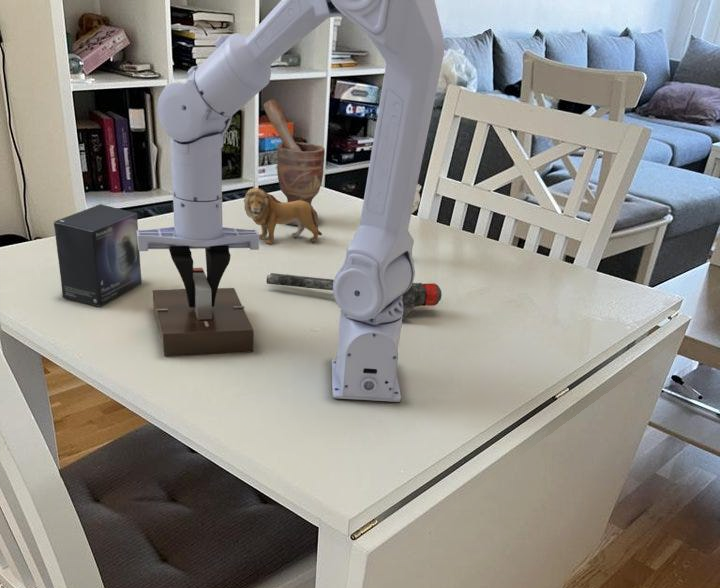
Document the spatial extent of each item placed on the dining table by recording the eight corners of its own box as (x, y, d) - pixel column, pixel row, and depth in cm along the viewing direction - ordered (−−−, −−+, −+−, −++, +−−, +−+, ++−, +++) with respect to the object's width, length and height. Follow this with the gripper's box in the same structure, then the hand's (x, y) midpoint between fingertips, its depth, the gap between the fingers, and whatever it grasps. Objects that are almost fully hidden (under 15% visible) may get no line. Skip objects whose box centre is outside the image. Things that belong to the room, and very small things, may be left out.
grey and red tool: (443, 303, 119) (435, 326, 106) (285, 285, 123) (258, 306, 109) (448, 262, 116) (441, 281, 103) (286, 245, 120) (258, 261, 106)
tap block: (254, 351, 95) (254, 328, 94) (163, 356, 92) (161, 332, 90) (234, 308, 106) (234, 286, 104) (152, 310, 103) (151, 288, 101)
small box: (102, 308, 102) (93, 230, 96) (60, 298, 103) (49, 221, 97) (144, 284, 110) (139, 211, 104) (106, 275, 112) (98, 202, 106)
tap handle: (212, 319, 95) (211, 287, 92) (197, 320, 94) (196, 287, 92) (204, 298, 100) (203, 267, 98) (190, 298, 100) (189, 267, 97)
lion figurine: (250, 248, 127) (250, 193, 122) (238, 238, 131) (238, 184, 126) (328, 242, 133) (331, 189, 128) (315, 232, 137) (318, 181, 132)
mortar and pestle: (255, 222, 139) (256, 103, 127) (263, 209, 146) (265, 95, 134) (317, 229, 139) (324, 110, 127) (323, 216, 146) (329, 102, 134)
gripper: (251, 186, 94) (250, 290, 102) (131, 185, 90) (140, 293, 98) (263, 203, 89) (261, 311, 97) (136, 202, 85) (144, 315, 92)
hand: (201, 304), depth 97 cm, fingers closed on tap handle, 2 cm apart
